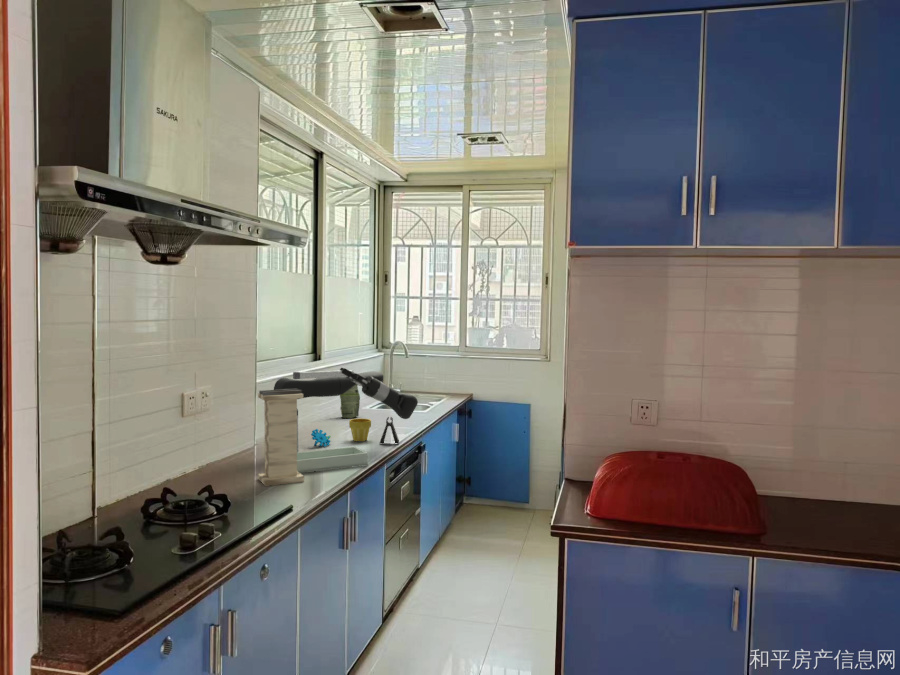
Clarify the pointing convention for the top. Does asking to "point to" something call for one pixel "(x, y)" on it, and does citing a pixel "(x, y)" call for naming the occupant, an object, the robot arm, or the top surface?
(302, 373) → the grey metal block
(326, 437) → the gear
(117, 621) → the top surface
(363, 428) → the plant pot
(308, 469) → the tray
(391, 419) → the pliers
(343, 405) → the pouch
